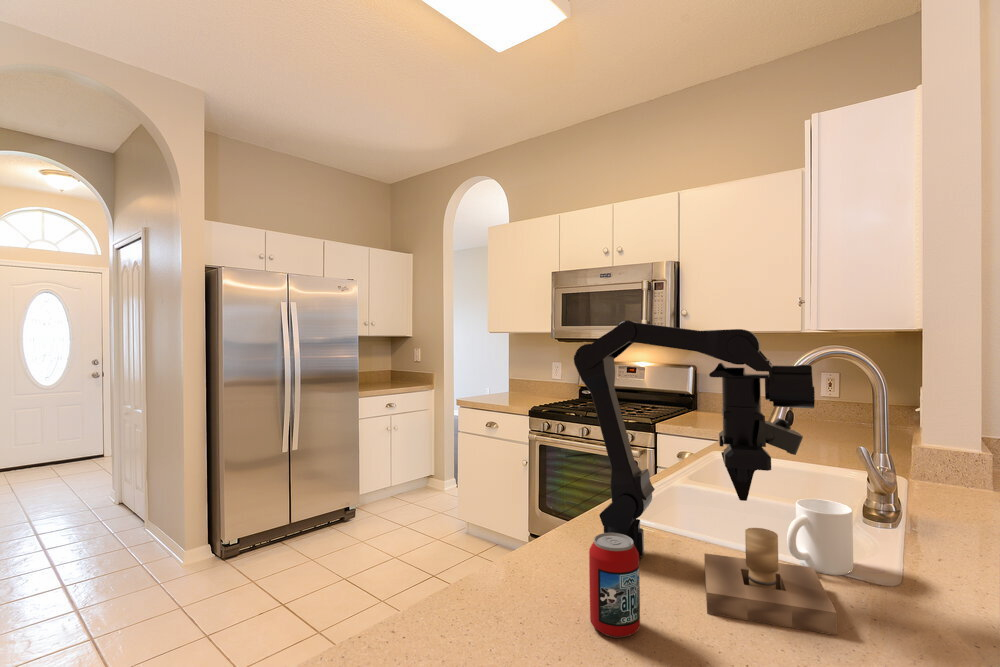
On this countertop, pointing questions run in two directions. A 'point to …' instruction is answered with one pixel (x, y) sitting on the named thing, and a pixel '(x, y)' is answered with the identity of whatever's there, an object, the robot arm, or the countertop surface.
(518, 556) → the countertop surface
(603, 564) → the beverage can
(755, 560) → the peg
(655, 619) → the countertop surface
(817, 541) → the mug
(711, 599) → the board
